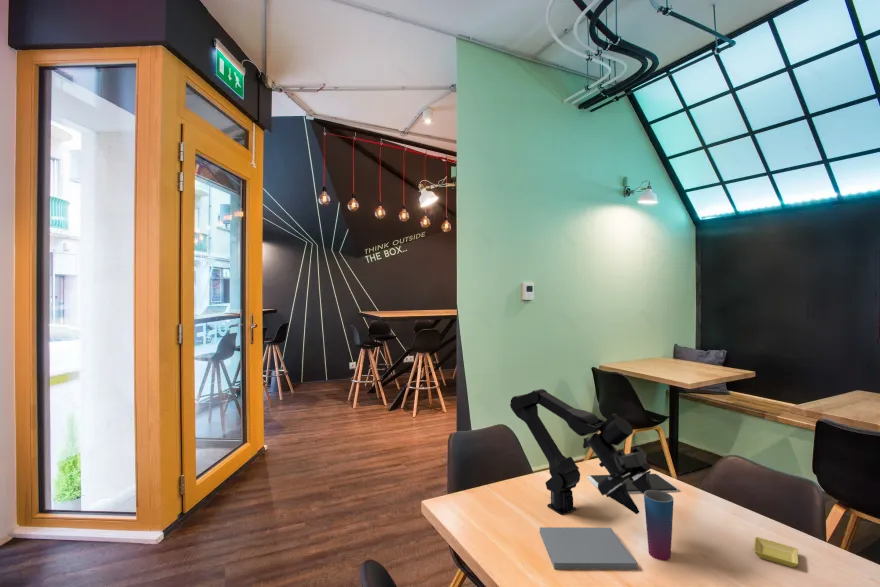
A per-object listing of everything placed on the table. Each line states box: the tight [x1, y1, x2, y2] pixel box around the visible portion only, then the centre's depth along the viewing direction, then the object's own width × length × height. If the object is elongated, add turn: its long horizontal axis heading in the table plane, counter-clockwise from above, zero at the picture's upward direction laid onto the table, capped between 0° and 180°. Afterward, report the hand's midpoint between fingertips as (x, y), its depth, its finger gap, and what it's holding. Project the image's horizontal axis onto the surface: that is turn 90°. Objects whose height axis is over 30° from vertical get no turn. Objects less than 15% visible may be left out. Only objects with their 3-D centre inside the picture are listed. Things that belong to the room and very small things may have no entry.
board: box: [539, 526, 638, 570], centre depth 109 cm, size 20×16×2 cm
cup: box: [643, 490, 674, 561], centre depth 107 cm, size 7×7×15 cm
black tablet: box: [587, 473, 680, 496], centre depth 148 cm, size 13×27×2 cm, turn 94°
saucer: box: [753, 536, 799, 568], centre depth 106 cm, size 9×9×2 cm
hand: (647, 507), depth 109 cm, fingers open, 9 cm apart
